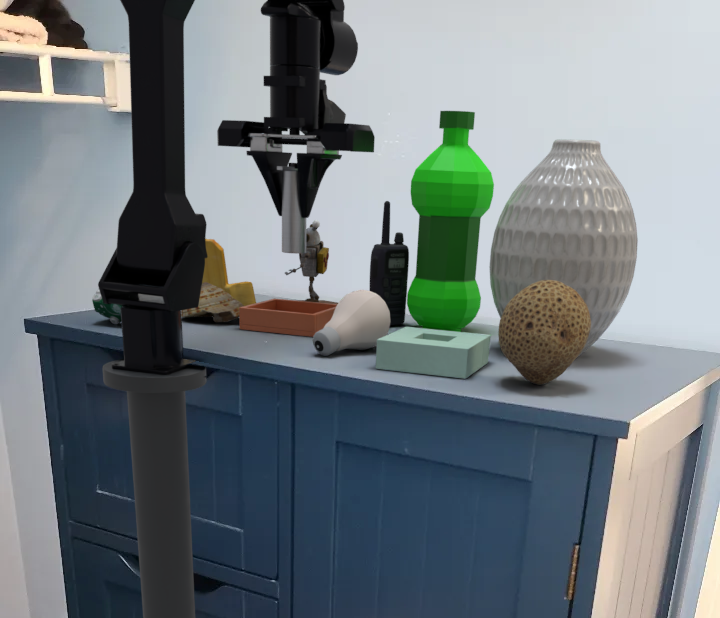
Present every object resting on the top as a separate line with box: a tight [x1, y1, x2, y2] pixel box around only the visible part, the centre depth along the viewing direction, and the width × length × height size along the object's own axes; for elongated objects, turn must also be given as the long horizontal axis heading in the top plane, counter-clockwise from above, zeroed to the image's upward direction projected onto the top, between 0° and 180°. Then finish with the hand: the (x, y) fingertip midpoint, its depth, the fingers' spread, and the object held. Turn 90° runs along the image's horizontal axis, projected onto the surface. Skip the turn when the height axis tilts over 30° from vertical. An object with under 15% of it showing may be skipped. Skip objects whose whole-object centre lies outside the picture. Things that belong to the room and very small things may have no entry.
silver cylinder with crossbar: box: [277, 162, 307, 255], centre depth 115 cm, size 3×6×10 cm, turn 151°
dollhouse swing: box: [202, 238, 257, 306], centre depth 134 cm, size 10×10×9 cm
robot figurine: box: [284, 219, 339, 304], centre depth 131 cm, size 11×9×12 cm
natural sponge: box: [497, 280, 591, 386], centre depth 93 cm, size 9×9×10 cm
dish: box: [238, 298, 337, 338], centre depth 121 cm, size 10×10×3 cm
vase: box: [488, 138, 639, 357], centre depth 107 cm, size 16×16×22 cm
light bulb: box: [312, 289, 391, 357], centre depth 107 cm, size 7×7×11 cm
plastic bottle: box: [406, 110, 495, 332], centre depth 118 cm, size 10×10×25 cm
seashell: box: [181, 282, 244, 323], centre depth 123 cm, size 8×6×8 cm
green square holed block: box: [375, 326, 492, 380], centre depth 102 cm, size 10×10×3 cm
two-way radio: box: [369, 200, 410, 326], centre depth 123 cm, size 6×4×15 cm
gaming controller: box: [91, 288, 122, 325], centre depth 118 cm, size 9×4×6 cm
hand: (294, 216), depth 115 cm, fingers closed on silver cylinder with crossbar, 3 cm apart
